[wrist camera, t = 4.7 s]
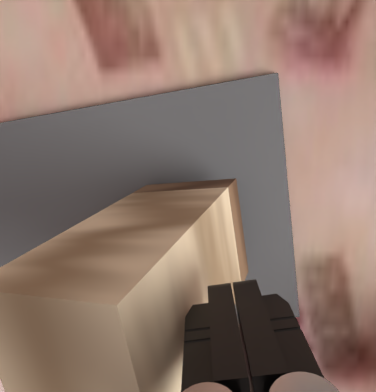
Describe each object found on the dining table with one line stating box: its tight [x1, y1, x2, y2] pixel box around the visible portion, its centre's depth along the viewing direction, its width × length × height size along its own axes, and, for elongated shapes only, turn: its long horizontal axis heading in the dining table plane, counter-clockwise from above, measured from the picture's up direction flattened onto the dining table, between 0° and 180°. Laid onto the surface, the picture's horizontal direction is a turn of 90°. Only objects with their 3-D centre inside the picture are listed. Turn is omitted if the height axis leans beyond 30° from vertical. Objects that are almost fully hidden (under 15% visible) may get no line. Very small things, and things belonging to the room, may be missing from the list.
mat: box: [0, 73, 300, 324], centre depth 18 cm, size 20×14×1 cm
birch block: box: [0, 178, 248, 392], centre depth 12 cm, size 5×5×10 cm
